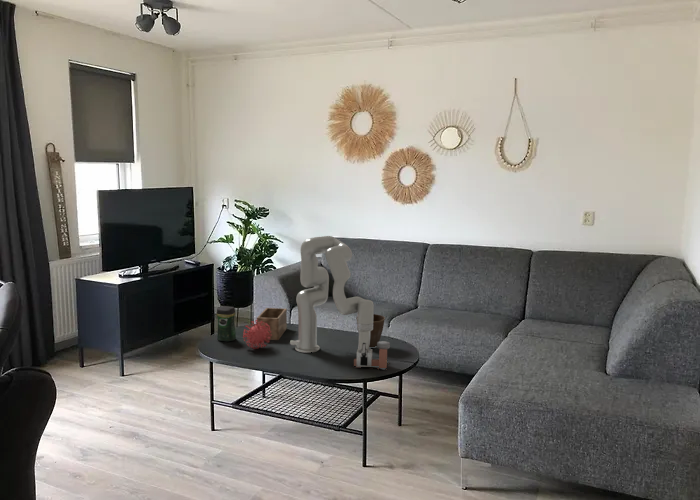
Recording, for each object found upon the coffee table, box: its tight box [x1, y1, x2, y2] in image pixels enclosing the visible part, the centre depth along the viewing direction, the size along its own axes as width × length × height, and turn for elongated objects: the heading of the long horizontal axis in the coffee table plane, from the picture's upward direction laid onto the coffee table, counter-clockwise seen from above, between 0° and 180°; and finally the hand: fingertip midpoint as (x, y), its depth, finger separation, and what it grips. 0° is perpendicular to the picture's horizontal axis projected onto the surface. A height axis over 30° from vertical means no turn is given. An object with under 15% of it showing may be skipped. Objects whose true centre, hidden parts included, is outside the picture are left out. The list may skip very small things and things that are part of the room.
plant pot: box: [356, 313, 386, 347], centre depth 299 cm, size 15×15×16 cm
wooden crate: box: [256, 307, 288, 341], centre depth 319 cm, size 12×22×12 cm, turn 175°
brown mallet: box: [353, 340, 391, 369], centre depth 269 cm, size 17×7×12 cm, turn 85°
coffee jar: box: [216, 305, 237, 342], centre depth 307 cm, size 10×8×19 cm
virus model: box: [242, 319, 272, 350], centre depth 294 cm, size 15×15×15 cm
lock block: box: [355, 348, 373, 368], centre depth 270 cm, size 7×7×7 cm
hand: (364, 362), depth 270 cm, fingers closed on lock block, 6 cm apart
